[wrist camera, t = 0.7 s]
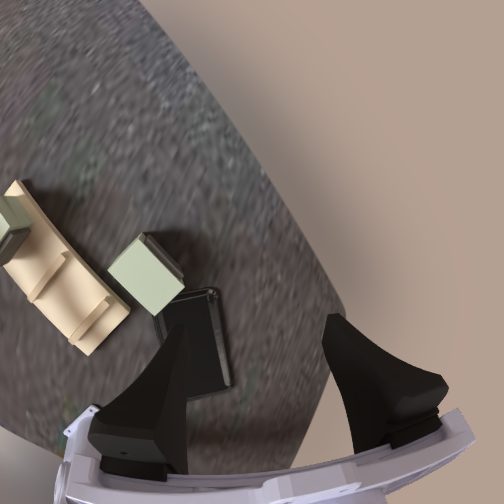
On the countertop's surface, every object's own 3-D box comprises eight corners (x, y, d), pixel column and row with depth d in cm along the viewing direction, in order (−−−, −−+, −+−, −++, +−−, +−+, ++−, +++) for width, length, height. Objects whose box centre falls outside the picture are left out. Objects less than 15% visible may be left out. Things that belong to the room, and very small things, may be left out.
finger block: (154, 296, 30) (154, 316, 24) (116, 258, 28) (107, 270, 22) (183, 268, 30) (189, 282, 25) (146, 228, 28) (143, 233, 23)
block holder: (90, 350, 28) (78, 385, 21) (-14, 231, 21) (-48, 238, 14) (130, 308, 29) (124, 337, 22) (20, 180, 22) (-12, 175, 15)
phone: (216, 287, 31) (234, 391, 34) (214, 284, 32) (231, 386, 35) (147, 299, 29) (176, 403, 32) (148, 296, 30) (175, 399, 33)
